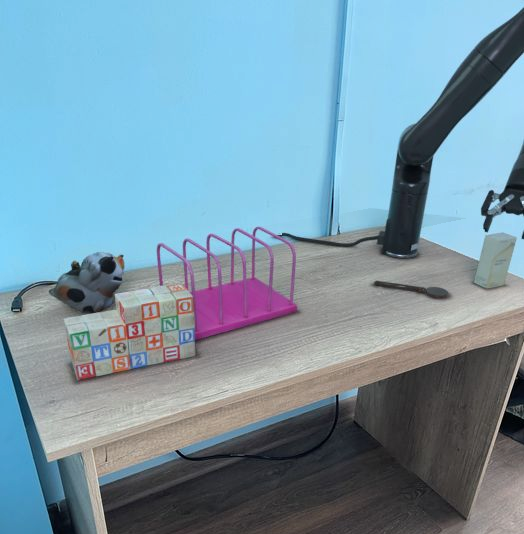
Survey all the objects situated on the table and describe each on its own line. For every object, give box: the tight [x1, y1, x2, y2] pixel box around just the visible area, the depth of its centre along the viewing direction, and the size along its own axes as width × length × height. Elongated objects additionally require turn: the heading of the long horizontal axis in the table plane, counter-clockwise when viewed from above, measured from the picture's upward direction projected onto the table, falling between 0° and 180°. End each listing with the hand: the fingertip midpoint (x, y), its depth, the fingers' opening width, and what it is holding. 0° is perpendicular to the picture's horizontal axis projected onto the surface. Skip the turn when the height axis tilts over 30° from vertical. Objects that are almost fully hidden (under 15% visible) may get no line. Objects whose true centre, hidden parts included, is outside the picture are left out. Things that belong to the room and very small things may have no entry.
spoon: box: [373, 280, 449, 300], centre depth 125 cm, size 17×5×1 cm, turn 72°
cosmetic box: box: [473, 232, 518, 290], centre depth 127 cm, size 6×4×12 cm
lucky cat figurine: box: [48, 251, 125, 314], centre depth 113 cm, size 15×12×14 cm
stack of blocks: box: [63, 283, 197, 381], centre depth 93 cm, size 21×6×12 cm, turn 115°
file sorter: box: [156, 226, 298, 341], centre depth 111 cm, size 17×25×16 cm
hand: (504, 234), depth 127 cm, fingers open, 8 cm apart
